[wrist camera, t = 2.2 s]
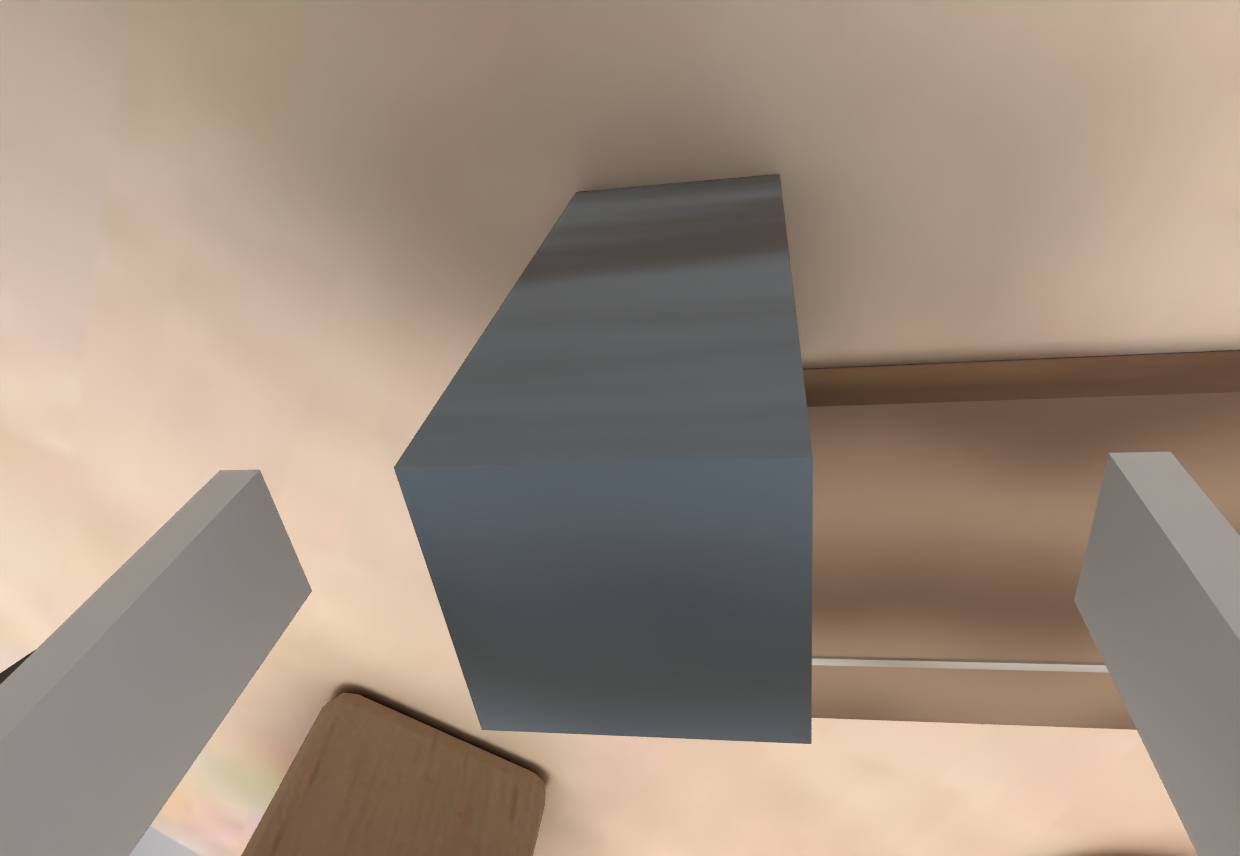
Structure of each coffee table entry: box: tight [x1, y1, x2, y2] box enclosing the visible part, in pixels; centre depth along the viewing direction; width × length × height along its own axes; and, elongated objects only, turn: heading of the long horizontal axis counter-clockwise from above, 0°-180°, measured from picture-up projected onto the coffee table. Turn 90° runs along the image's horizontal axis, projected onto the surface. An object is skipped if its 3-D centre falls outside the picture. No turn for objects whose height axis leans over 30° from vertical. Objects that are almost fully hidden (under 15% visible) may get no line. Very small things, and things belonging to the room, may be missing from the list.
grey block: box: [394, 174, 813, 744], centre depth 18 cm, size 16×5×12 cm, turn 7°
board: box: [803, 351, 1240, 730], centre depth 23 cm, size 12×22×2 cm, turn 97°
